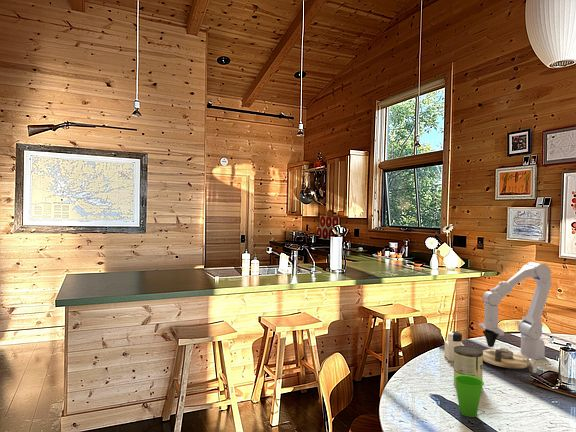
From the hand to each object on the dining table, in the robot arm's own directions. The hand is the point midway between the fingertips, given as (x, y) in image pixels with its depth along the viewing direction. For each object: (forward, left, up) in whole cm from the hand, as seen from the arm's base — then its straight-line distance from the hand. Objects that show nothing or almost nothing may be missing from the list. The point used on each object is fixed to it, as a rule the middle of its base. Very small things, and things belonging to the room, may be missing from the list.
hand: (490, 346), depth 192 cm
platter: (0, +9, -3) cm, 10 cm away
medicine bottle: (+19, 0, -5) cm, 20 cm away
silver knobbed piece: (-3, +19, -4) cm, 19 cm away
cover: (+1, +9, -2) cm, 9 cm away
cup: (+47, +47, -5) cm, 67 cm away
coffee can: (+33, +28, -5) cm, 44 cm away
